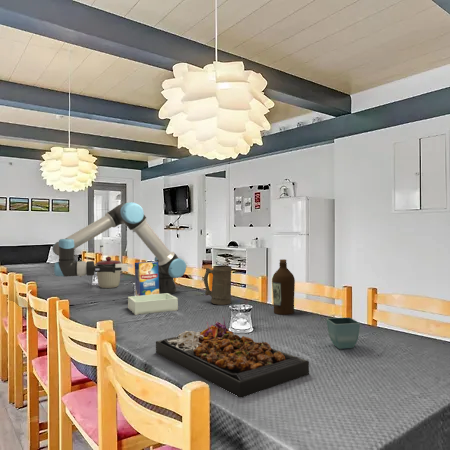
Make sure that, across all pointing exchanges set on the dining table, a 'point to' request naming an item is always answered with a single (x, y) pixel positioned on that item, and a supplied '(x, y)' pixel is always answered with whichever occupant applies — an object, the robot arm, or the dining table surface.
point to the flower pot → (343, 332)
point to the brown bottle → (283, 290)
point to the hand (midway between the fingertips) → (128, 267)
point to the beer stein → (219, 284)
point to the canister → (108, 275)
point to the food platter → (232, 360)
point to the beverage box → (146, 278)
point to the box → (152, 303)
